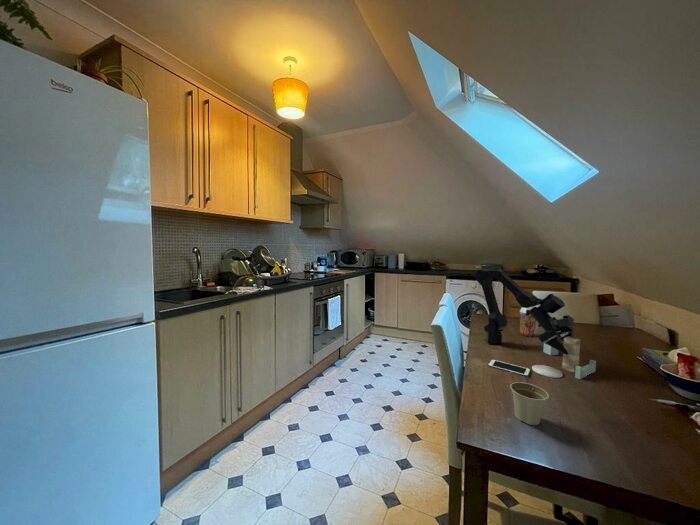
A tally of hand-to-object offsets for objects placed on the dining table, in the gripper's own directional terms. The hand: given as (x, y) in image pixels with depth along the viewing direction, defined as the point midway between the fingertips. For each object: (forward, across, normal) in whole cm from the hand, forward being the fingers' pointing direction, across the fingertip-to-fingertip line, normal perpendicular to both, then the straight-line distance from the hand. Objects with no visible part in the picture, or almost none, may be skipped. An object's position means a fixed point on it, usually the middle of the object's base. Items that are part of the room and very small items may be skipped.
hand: (572, 352), depth 109 cm
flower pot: (+12, -49, -1) cm, 51 cm away
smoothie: (-18, +29, +28) cm, 44 cm away
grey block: (-4, +12, +14) cm, 19 cm away
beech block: (+5, 0, +6) cm, 8 cm away
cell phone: (-4, -22, +15) cm, 27 cm away
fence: (+8, 0, +2) cm, 9 cm away
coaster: (+2, -11, +8) cm, 14 cm away
